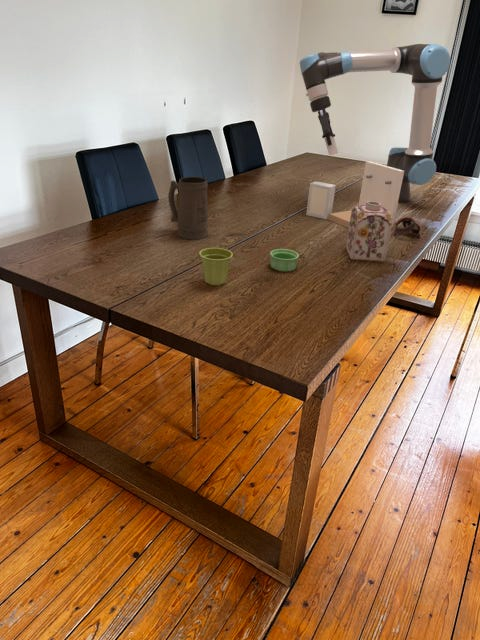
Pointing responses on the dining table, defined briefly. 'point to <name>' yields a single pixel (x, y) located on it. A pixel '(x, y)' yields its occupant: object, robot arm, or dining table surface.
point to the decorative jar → (369, 232)
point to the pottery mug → (407, 226)
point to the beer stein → (190, 207)
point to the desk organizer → (376, 190)
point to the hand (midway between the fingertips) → (333, 154)
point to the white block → (320, 199)
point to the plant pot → (215, 264)
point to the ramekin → (284, 259)
